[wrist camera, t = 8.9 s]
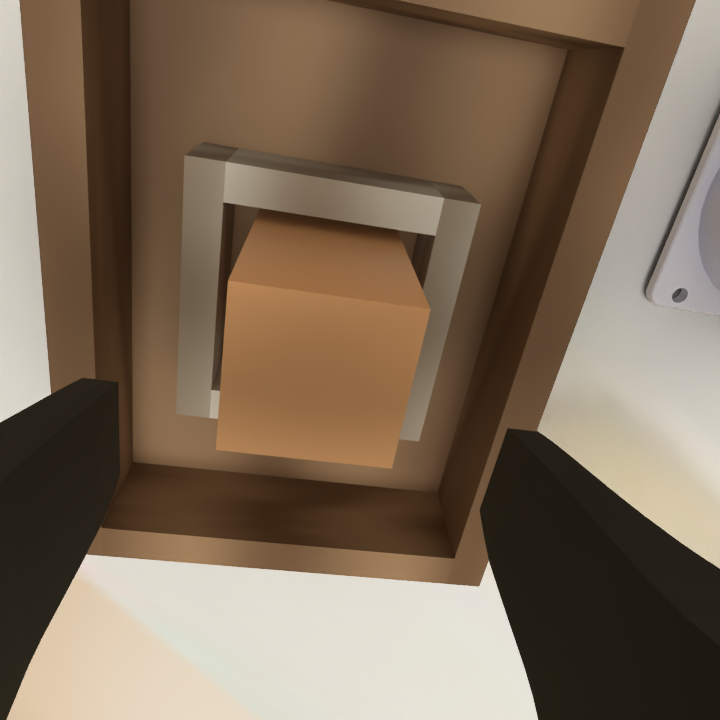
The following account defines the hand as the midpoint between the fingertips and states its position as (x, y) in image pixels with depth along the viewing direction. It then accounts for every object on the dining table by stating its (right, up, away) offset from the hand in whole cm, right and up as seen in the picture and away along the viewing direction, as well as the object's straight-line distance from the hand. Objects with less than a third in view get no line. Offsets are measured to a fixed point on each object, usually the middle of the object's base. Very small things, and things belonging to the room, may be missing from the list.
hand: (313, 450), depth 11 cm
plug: (0, +4, +8) cm, 9 cm away
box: (-1, +4, +8) cm, 9 cm away
